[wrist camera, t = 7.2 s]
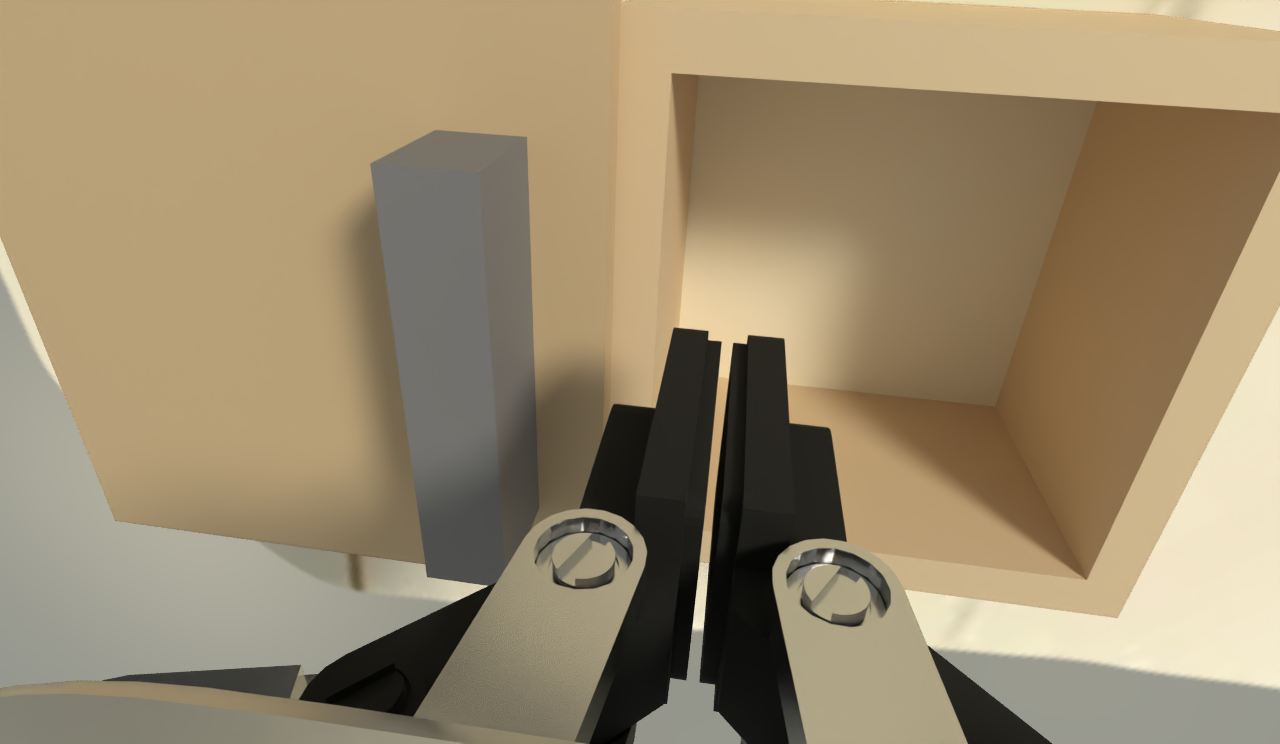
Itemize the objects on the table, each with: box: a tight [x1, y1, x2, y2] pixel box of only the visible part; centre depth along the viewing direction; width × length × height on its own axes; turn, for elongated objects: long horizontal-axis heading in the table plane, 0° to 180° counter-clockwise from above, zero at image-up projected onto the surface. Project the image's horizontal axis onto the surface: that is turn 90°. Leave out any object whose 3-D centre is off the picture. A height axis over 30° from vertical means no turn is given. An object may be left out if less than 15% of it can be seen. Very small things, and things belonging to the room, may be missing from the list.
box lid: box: [0, 0, 621, 586], centre depth 14 cm, size 12×12×3 cm
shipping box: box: [610, 0, 1280, 618], centre depth 18 cm, size 12×12×8 cm
